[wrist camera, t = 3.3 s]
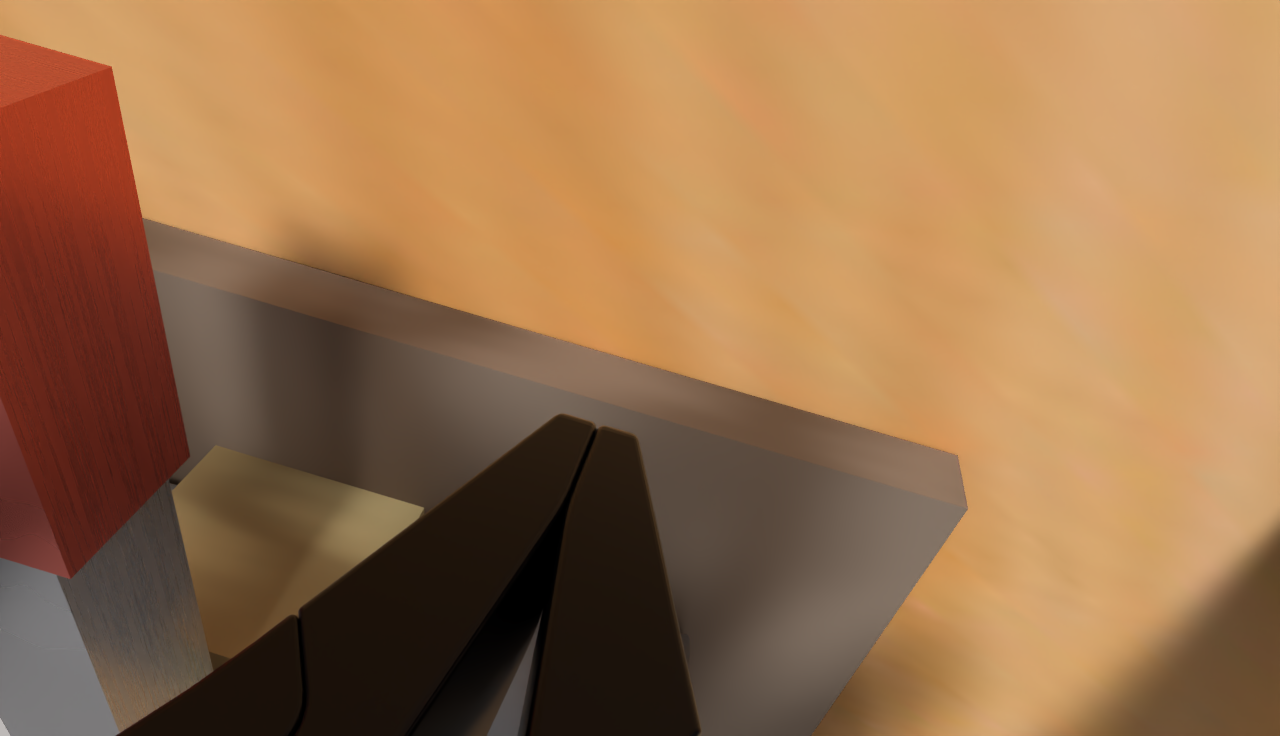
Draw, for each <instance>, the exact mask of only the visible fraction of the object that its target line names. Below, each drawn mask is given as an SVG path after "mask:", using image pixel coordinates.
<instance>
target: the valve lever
mask: <svg viewBox="0 0 1280 736" xmlns="http://www.w3.org/2000/svg"><path fill="white" fill-rule="evenodd" d="M189 457H190V452H189V447H188V442H187V437H186V432H185V427H184V422H183V417H182V413H181V408H180V403H179V398H178V393H177V388H176V383H175V378H174V373H173V368H172V363H171V358H170V353H169V348H168V343H167V338H166V333H165V328H164V323H163V319H162V314H161V309H160V304H159V299H158V294H157V289H156V284H155V279H154V274H153V269H152V264H151V259H150V254H149V249H148V244H147V239H146V234H145V229H144V225H143V220H142V215H141V210H140V205H139V200H138V195H137V190H136V185H135V180H134V175H133V170H132V165H131V160H130V155H129V150H128V145H127V140H126V135H125V131H124V126H123V121H122V116H121V111H120V106H119V101H118V96H117V91H116V86H115V81H114V76H113V71H112V67H111V66H107V65H104V64H100V63H97V62H93V61H90V60H86V59H83V58H79V57H76V56H72V55H69V54H65V53H62V52H58V51H55V50H51V49H48V48H44V47H41V46H37V45H34V44H30V43H27V42H23V41H20V40H16V39H13V38H9V37H6V36H2V35H0V718H1V719H2V721H3V723H4V725H5V726H6V728H7V730H8V732H9V733H10V735H11V736H116V735H117V734H119V733H120V732H122V731H123V730H125V729H126V728H128V727H130V726H131V725H133V724H134V723H136V722H137V721H139V720H140V719H142V718H144V717H145V716H147V715H148V714H150V713H151V712H153V711H154V710H156V709H158V708H159V707H161V706H162V705H164V704H165V703H167V702H169V701H170V700H172V699H173V698H175V697H176V696H178V695H179V694H181V693H183V692H184V691H186V690H187V689H189V688H190V687H192V686H193V685H194V684H196V683H197V682H199V681H200V680H201V679H203V678H204V677H206V676H207V675H209V674H210V673H211V672H213V668H212V664H211V659H210V655H209V651H208V646H207V642H206V638H205V634H204V629H203V625H202V621H201V616H200V612H199V608H198V603H197V599H196V595H195V590H194V586H193V582H192V577H191V573H190V569H189V564H188V560H187V556H186V552H185V547H184V543H183V539H182V534H181V530H180V526H179V521H178V517H177V513H176V508H175V504H174V500H173V495H172V491H171V487H170V482H169V478H170V477H171V476H172V475H173V474H174V473H175V472H176V471H177V470H178V469H179V468H180V467H181V466H182V465H183V464H184V462H185V461H186V460H187V459H188V458H189Z"/></svg>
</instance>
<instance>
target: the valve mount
mask: <svg viewBox="0 0 1280 736" xmlns="http://www.w3.org/2000/svg"><path fill="white" fill-rule="evenodd" d="M142 220H143V225H144V229H145V234H146V239H147V244H148V249H149V254H150V259H151V264H152V269H153V274H154V279H155V284H156V289H157V294H158V299H159V304H160V309H161V314H162V319H163V323H164V328H165V333H166V338H167V343H168V348H169V353H170V358H171V363H172V368H173V373H174V378H175V383H176V388H177V393H178V398H179V403H180V408H181V413H182V417H183V422H184V427H185V432H186V437H187V442H188V447H189V452H190V457H189V458H188V459H187V460H186V461H185V462H184V464H183V465H182V466H181V467H180V468H179V469H178V470H177V471H176V472H175V473H174V474H173V475H172V476H171V477H170V478H169V482H170V487H171V491H172V495H173V500H174V504H175V508H176V513H177V517H178V521H179V526H180V530H181V534H182V539H183V543H184V547H185V552H186V556H187V560H188V564H189V569H190V573H191V577H192V582H193V586H194V590H195V595H196V599H197V603H198V608H199V612H200V616H201V621H202V625H203V629H204V634H205V638H206V642H207V646H208V651H209V655H210V659H211V664H212V668H213V671H214V670H216V669H217V668H218V667H220V666H221V665H223V664H224V663H225V662H227V661H228V660H230V659H231V658H232V657H234V656H235V655H237V654H238V653H239V652H241V651H242V650H244V649H245V648H246V647H248V646H249V645H251V644H252V643H253V642H255V641H256V640H257V639H259V638H260V637H261V636H263V635H264V634H265V633H267V632H268V631H269V630H270V629H272V628H273V627H274V626H276V625H277V624H278V623H280V622H281V621H282V620H284V619H285V618H286V617H288V616H289V615H292V614H294V615H296V616H297V617H298V610H299V608H300V607H302V606H303V605H304V604H306V603H307V602H308V601H310V600H311V599H312V598H314V597H315V596H316V595H318V594H319V593H320V592H322V591H323V590H324V589H326V588H327V587H328V586H330V585H331V584H332V583H334V582H335V581H336V580H337V579H339V578H340V577H341V576H343V575H344V574H345V573H347V572H348V571H349V570H351V569H352V568H353V567H355V566H356V565H357V564H359V563H360V562H361V561H363V560H364V559H365V558H367V557H368V556H369V555H371V554H372V553H373V552H375V551H376V550H377V549H379V548H380V547H381V546H383V545H384V544H385V543H387V542H388V541H389V540H391V539H392V538H393V537H395V536H396V535H397V534H399V533H400V532H401V531H403V530H404V529H405V528H407V527H408V526H409V525H411V524H412V523H413V522H415V521H416V520H417V519H419V518H420V517H421V516H423V515H424V514H425V513H427V512H428V511H429V510H430V509H432V508H433V507H434V506H436V505H437V504H438V503H440V502H441V501H442V500H444V499H445V498H446V497H448V496H449V495H450V494H452V493H453V492H454V491H456V490H457V489H458V488H460V487H461V486H462V485H464V484H465V483H466V482H468V481H469V480H470V479H472V478H473V477H474V476H476V475H477V474H478V473H480V472H481V471H482V470H484V469H485V468H486V467H488V466H489V465H490V464H492V463H493V462H494V461H496V460H497V459H498V458H500V457H501V456H502V455H504V454H505V453H506V452H508V451H509V450H510V449H512V448H513V447H514V446H516V445H517V444H518V443H519V442H521V441H522V440H523V439H525V438H526V437H527V436H529V435H530V434H531V433H533V432H534V431H535V430H537V429H538V428H539V427H541V426H542V425H543V424H545V423H546V422H547V421H549V420H550V419H551V418H553V417H554V416H556V415H557V414H561V413H564V414H568V415H572V416H575V417H578V418H582V419H585V420H589V421H592V422H594V424H595V425H596V428H597V429H598V428H599V427H600V426H603V425H605V426H609V427H613V428H616V429H619V430H623V431H626V432H630V433H633V434H635V435H636V436H637V438H638V440H639V444H640V448H641V453H642V457H643V462H644V467H645V471H646V476H647V480H648V485H649V490H650V494H651V499H652V503H653V508H654V513H655V517H656V522H657V527H658V531H659V536H660V540H661V545H662V550H663V554H664V559H665V563H666V568H667V573H668V577H669V582H670V586H671V591H672V596H673V600H674V605H675V610H676V614H677V619H678V623H679V628H680V633H681V637H682V642H683V646H684V651H685V656H686V660H687V665H688V670H689V674H690V679H691V683H692V688H693V693H694V697H695V702H696V706H697V711H698V716H699V720H700V725H701V730H702V732H701V735H700V736H811V735H812V733H813V732H814V731H815V729H816V728H817V726H818V725H819V723H820V722H821V720H822V719H823V718H824V716H825V715H826V713H827V712H828V710H829V709H830V707H831V706H832V705H833V703H834V702H835V700H836V699H837V697H838V696H839V694H840V693H841V692H842V690H843V689H844V687H845V686H846V684H847V683H848V681H849V680H850V679H851V677H852V676H853V674H854V673H855V671H856V670H857V668H858V667H859V666H860V664H861V663H862V661H863V660H864V658H865V657H866V655H867V654H868V653H869V651H870V650H871V648H872V647H873V645H874V644H875V642H876V641H877V639H878V638H879V637H880V635H881V634H882V632H883V631H884V629H885V628H886V626H887V625H888V624H889V622H890V621H891V619H892V618H893V616H894V615H895V613H896V612H897V611H898V609H899V608H900V606H901V605H902V603H903V602H904V600H905V599H906V598H907V596H908V595H909V593H910V592H911V590H912V589H913V587H914V586H915V585H916V583H917V582H918V580H919V579H920V577H921V576H922V574H923V573H924V572H925V570H926V569H927V567H928V566H929V564H930V563H931V561H932V560H933V559H934V557H935V556H936V554H937V553H938V551H939V550H940V548H941V547H942V546H943V544H944V543H945V541H946V540H947V538H948V537H949V535H950V534H951V533H952V531H953V530H954V528H955V527H956V525H957V524H958V522H959V521H960V520H961V518H962V517H963V515H964V514H965V512H966V511H967V509H968V506H967V501H966V496H965V491H964V486H963V480H962V475H961V470H960V465H959V460H958V455H954V454H951V453H947V452H944V451H940V450H937V449H934V448H930V447H927V446H923V445H920V444H916V443H913V442H909V441H906V440H903V439H899V438H896V437H892V436H889V435H885V434H882V433H879V432H875V431H872V430H868V429H865V428H861V427H858V426H855V425H851V424H848V423H844V422H841V421H837V420H834V419H831V418H827V417H824V416H820V415H817V414H813V413H810V412H806V411H803V410H800V409H796V408H793V407H789V406H786V405H782V404H779V403H776V402H772V401H769V400H765V399H762V398H758V397H755V396H752V395H748V394H745V393H741V392H738V391H734V390H731V389H728V388H724V387H721V386H717V385H714V384H710V383H707V382H703V381H700V380H697V379H693V378H690V377H686V376H683V375H679V374H676V373H673V372H669V371H666V370H662V369H659V368H655V367H652V366H649V365H645V364H642V363H638V362H635V361H631V360H628V359H625V358H621V357H618V356H614V355H611V354H607V353H604V352H600V351H597V350H594V349H590V348H587V347H583V346H580V345H576V344H573V343H570V342H566V341H563V340H559V339H556V338H552V337H549V336H546V335H542V334H539V333H535V332H532V331H528V330H525V329H522V328H518V327H515V326H511V325H508V324H504V323H501V322H497V321H494V320H491V319H487V318H484V317H480V316H477V315H473V314H470V313H467V312H463V311H460V310H456V309H453V308H449V307H446V306H443V305H439V304H436V303H432V302H429V301H425V300H422V299H419V298H415V297H412V296H408V295H405V294H401V293H398V292H394V291H391V290H388V289H384V288H381V287H377V286H374V285H370V284H367V283H364V282H360V281H357V280H353V279H350V278H346V277H343V276H340V275H336V274H333V273H329V272H326V271H322V270H319V269H316V268H312V267H309V266H305V265H302V264H298V263H295V262H291V261H288V260H285V259H281V258H278V257H274V256H271V255H267V254H264V253H261V252H257V251H254V250H250V249H247V248H243V247H240V246H237V245H233V244H230V243H226V242H223V241H219V240H216V239H213V238H209V237H206V236H202V235H199V234H195V233H192V232H188V231H185V230H182V229H178V228H175V227H171V226H168V225H164V224H161V223H158V222H154V221H151V220H147V219H144V218H142ZM541 616H542V615H541ZM540 620H541V618H540ZM540 620H539V623H538V626H537V628H536V631H535V633H534V635H533V638H532V640H531V642H530V644H529V647H528V649H527V651H526V653H525V655H524V658H523V660H522V662H521V664H520V666H519V668H518V670H517V672H516V675H515V677H514V679H513V681H512V683H511V685H510V687H509V689H508V692H507V694H506V696H505V698H504V700H503V702H502V704H501V707H500V709H499V711H498V713H497V715H496V717H495V719H494V721H493V724H492V726H491V728H490V730H489V732H488V734H487V736H517V735H518V729H519V724H520V719H521V714H522V709H523V704H524V698H525V693H526V688H527V683H528V678H529V673H530V667H531V662H532V657H533V652H534V647H535V643H536V638H537V634H538V629H539V625H540Z"/></svg>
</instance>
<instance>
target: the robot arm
mask: <svg viewBox="0 0 1280 736" xmlns="http://www.w3.org/2000/svg"><path fill="white" fill-rule="evenodd" d="M541 615H542V616H541ZM540 618H541V620H540ZM539 620H540V625H539V629H538V634H537V638H536V643H535V647H534V652H533V657H532V662H531V667H530V673H529V678H528V683H527V688H526V693H525V698H524V704H523V709H522V714H521V719H520V724H519V729H518V735H517V736H700V735H701V732H702V730H701V725H700V720H699V716H698V711H697V706H696V702H695V697H694V693H693V688H692V683H691V679H690V674H689V670H688V665H687V660H686V656H685V651H684V646H683V642H682V637H681V633H680V628H679V623H678V619H677V614H676V610H675V605H674V600H673V596H672V591H671V586H670V582H669V577H668V573H667V568H666V563H665V559H664V554H663V550H662V545H661V540H660V536H659V531H658V527H657V522H656V517H655V513H654V508H653V503H652V499H651V494H650V490H649V485H648V480H647V476H646V471H645V467H644V462H643V457H642V453H641V448H640V444H639V440H638V438H637V436H636V435H635V434H633V433H630V432H626V431H623V430H619V429H616V428H613V427H609V426H605V425H603V426H600V427H599V428H598V429H597V428H596V425H595V424H594V422H592V421H589V420H585V419H582V418H578V417H575V416H572V415H568V414H564V413H561V414H557V415H556V416H554V417H553V418H551V419H550V420H549V421H547V422H546V423H545V424H543V425H542V426H541V427H539V428H538V429H537V430H535V431H534V432H533V433H531V434H530V435H529V436H527V437H526V438H525V439H523V440H522V441H521V442H519V443H518V444H517V445H516V446H514V447H513V448H512V449H510V450H509V451H508V452H506V453H505V454H504V455H502V456H501V457H500V458H498V459H497V460H496V461H494V462H493V463H492V464H490V465H489V466H488V467H486V468H485V469H484V470H482V471H481V472H480V473H478V474H477V475H476V476H474V477H473V478H472V479H470V480H469V481H468V482H466V483H465V484H464V485H462V486H461V487H460V488H458V489H457V490H456V491H454V492H453V493H452V494H450V495H449V496H448V497H446V498H445V499H444V500H442V501H441V502H440V503H438V504H437V505H436V506H434V507H433V508H432V509H430V510H429V511H428V512H427V513H425V514H424V515H423V516H421V517H420V518H419V519H417V520H416V521H415V522H413V523H412V524H411V525H409V526H408V527H407V528H405V529H404V530H403V531H401V532H400V533H399V534H397V535H396V536H395V537H393V538H392V539H391V540H389V541H388V542H387V543H385V544H384V545H383V546H381V547H380V548H379V549H377V550H376V551H375V552H373V553H372V554H371V555H369V556H368V557H367V558H365V559H364V560H363V561H361V562H360V563H359V564H357V565H356V566H355V567H353V568H352V569H351V570H349V571H348V572H347V573H345V574H344V575H343V576H341V577H340V578H339V579H337V580H336V581H335V582H334V583H332V584H331V585H330V586H328V587H327V588H326V589H324V590H323V591H322V592H320V593H319V594H318V595H316V596H315V597H314V598H312V599H311V600H310V601H308V602H307V603H306V604H304V605H303V606H302V607H300V608H299V610H298V617H297V616H296V615H294V614H292V615H289V616H288V617H286V618H285V619H284V620H282V621H281V622H280V623H278V624H277V625H276V626H274V627H273V628H272V629H270V630H269V631H268V632H267V633H265V634H264V635H263V636H261V637H260V638H259V639H257V640H256V641H255V642H253V643H252V644H251V645H249V646H248V647H246V648H245V649H244V650H242V651H241V652H239V653H238V654H237V655H235V656H234V657H232V658H231V659H230V660H228V661H227V662H225V663H224V664H223V665H221V666H220V667H218V668H217V669H216V670H214V671H213V672H211V673H210V674H209V675H207V676H206V677H204V678H203V679H201V680H200V681H199V682H197V683H196V684H194V685H193V686H192V687H190V688H189V689H187V690H186V691H184V692H183V693H181V694H179V695H178V696H176V697H175V698H173V699H172V700H170V701H169V702H167V703H165V704H164V705H162V706H161V707H159V708H158V709H156V710H154V711H153V712H151V713H150V714H148V715H147V716H145V717H144V718H142V719H140V720H139V721H137V722H136V723H134V724H133V725H131V726H130V727H128V728H126V729H125V730H123V731H122V732H120V733H119V734H117V735H116V736H487V734H488V732H489V730H490V728H491V726H492V724H493V721H494V719H495V717H496V715H497V713H498V711H499V709H500V707H501V704H502V702H503V700H504V698H505V696H506V694H507V692H508V689H509V687H510V685H511V683H512V681H513V679H514V677H515V675H516V672H517V670H518V668H519V666H520V664H521V662H522V660H523V658H524V655H525V653H526V651H527V649H528V647H529V644H530V642H531V640H532V638H533V635H534V633H535V631H536V628H537V626H538V623H539Z"/></svg>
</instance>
